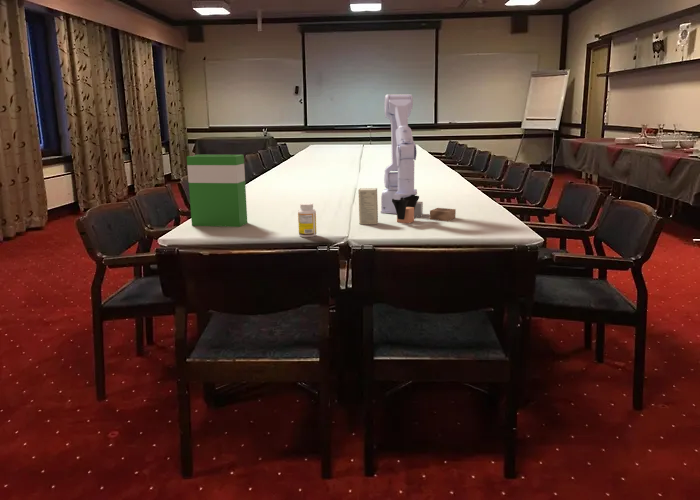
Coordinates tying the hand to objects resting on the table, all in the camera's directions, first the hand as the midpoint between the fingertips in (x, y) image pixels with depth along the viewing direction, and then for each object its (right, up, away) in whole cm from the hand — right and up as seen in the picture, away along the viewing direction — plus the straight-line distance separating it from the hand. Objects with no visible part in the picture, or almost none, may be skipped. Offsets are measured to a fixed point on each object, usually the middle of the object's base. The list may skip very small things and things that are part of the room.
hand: (405, 217), depth 203 cm
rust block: (0, -1, 0) cm, 2 cm away
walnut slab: (+14, 0, +5) cm, 15 cm away
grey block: (+5, +1, +12) cm, 13 cm away
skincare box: (-13, -2, -2) cm, 14 cm away
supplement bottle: (-33, -7, -21) cm, 40 cm away
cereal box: (-66, -3, 0) cm, 66 cm away
